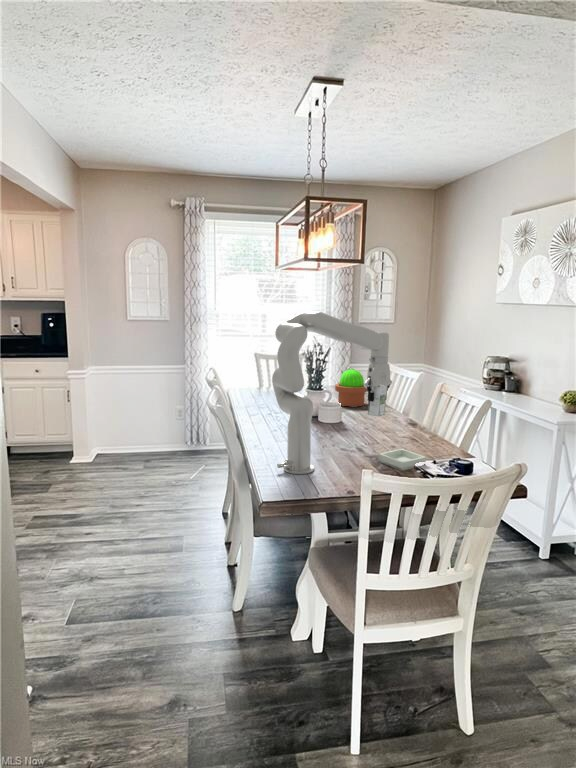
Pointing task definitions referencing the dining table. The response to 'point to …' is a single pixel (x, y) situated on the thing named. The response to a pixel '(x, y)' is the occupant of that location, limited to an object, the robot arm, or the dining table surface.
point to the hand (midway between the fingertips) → (377, 399)
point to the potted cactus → (351, 388)
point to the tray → (401, 459)
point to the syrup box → (378, 401)
